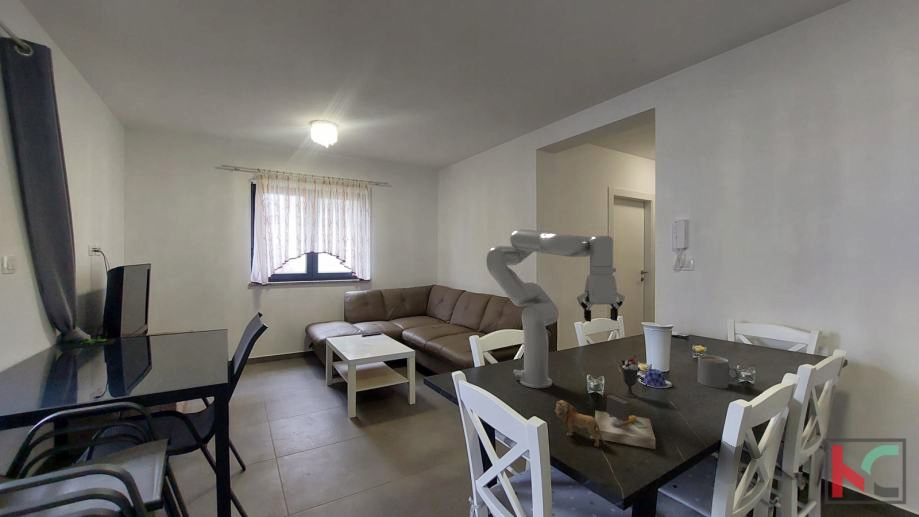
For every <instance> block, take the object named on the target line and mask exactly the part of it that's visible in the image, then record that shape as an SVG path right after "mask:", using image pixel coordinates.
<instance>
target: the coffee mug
mask: <svg viewBox="0 0 919 517" xmlns="http://www.w3.org/2000/svg"><path fill="white" fill-rule="evenodd" d="M729 361H730V360H728V359H727V358H725V357H722V356H717V355H709V354H708V355H707V354H705V355H704V354H702V355H701V354H700V355H698V356H697V383H699V384H700V383H701V384H700V385H702V384H703V385H702V386H704V385H706V386H705V387H708V386H709V387H708V388H714V389H728V388H729V384H730V383H734V382H737V381H739V380H740V379H741V371H740V369H739V368H738V367H737V366H735V365H732V364H730V362H729ZM731 370H733V371H734V372H735V376H734V377H732V376H730V371H731Z"/></svg>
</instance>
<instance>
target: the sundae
mask: <svg viewBox="0 0 919 517" xmlns="http://www.w3.org/2000/svg"><path fill="white" fill-rule="evenodd" d="M635 358H637V355H636V354H634V356H633V357H632V358H629V359H627V360H624V359H622V360H621V364H622V365H620V366H619V367H620V368H621V370H622V371H621V372H622V378H623V382H624V383H625V384H626V385H627V391H626V392H625V391H624V392H622V396H624V397H625V398H631V399H635V398H637V397H638V394H636V393H633V390H632V387H633V386H635V385H636V384H637V381H638V374H639V373H638V372H640V370H641V368H640V366H638V365H637V364H636V360H635Z"/></svg>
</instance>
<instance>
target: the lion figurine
mask: <svg viewBox="0 0 919 517" xmlns="http://www.w3.org/2000/svg"><path fill="white" fill-rule="evenodd" d="M554 412H555V414H556V416H557V417H559V418H560V419H561V420H562V422H563V423H565V424H567V429H568V432H566V435H567V436H568V437H571V436H573V434H574V433H573V432H575V427H576V426H577V427H578V428H582V429H584V428H586V430H587V432H588V434H589V435H590V436H589V439H590V440H594V441H595V442H594V443H593V445H594V447H599V446H600V440H601V441H602V443H603V444H604V445H608V444H609V443H608V441H606V440H603V438H602V436H601V432H600V428H599V426H598V423H597V421H596V420H595V417H594V416H591V415H586V414H582V413H579V411H578V410H577V408H575V407H574V406H573V405H571V403H569V402H567V401H566V400H563V399H561V400H558V401H556V406H555V411H554ZM596 428H597V430H598V433H599V436H600V438H601V439H598V437H597V436H596V433H595V431H596Z"/></svg>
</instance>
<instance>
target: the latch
mask: <svg viewBox="0 0 919 517" xmlns="http://www.w3.org/2000/svg"><path fill="white" fill-rule="evenodd" d="M606 412H607V414H609V415H611V416H613V424H614V425H616V426H621V425H622V424H625V423H629V422H632V421H635V420H637V417H638V416H636V415H635V414H632V415H630V402H628V401H626V400H624V399H622V398H620V397H618V396H615V395H613V394H610V395H606Z"/></svg>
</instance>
